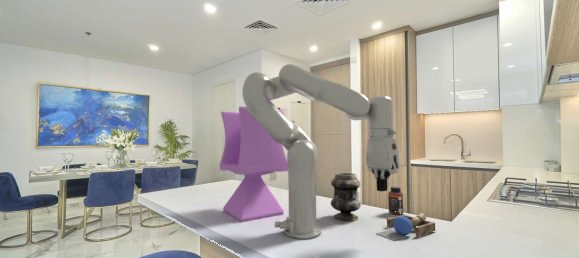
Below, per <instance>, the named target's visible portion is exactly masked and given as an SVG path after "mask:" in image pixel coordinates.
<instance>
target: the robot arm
mask: <svg viewBox="0 0 579 258" xmlns="http://www.w3.org/2000/svg"><path fill="white" fill-rule="evenodd" d="M294 94H299V95H300V96H302V97H304V98H307V99H308V100H310V101H312V102H314V103H318V104H325V105H328V106H331V107H332V108H335V109H337V110H339V111H340V112H341V111H342V112H343V113H345V116H346V117H348V119H349V120H352V121H362V120H368V139H367V142H366V148H365V149H366V151H365V164H366V167H367V171H368V172H371V173H372V174H373V176H374V179H376V191H378V192H387V191H388V179H390V176H391V175H394V174H395V175H396V174H398V169H399V168H400V154H399V148H398V147H399V145H398V143H397V139H396V138H394V135H396V134H397V131H396V130H394V118H393V117H394V116H393V115H394V114H393V113H394V112H393V109H394V108H393V99H392V98H391V97H389V96H385V95H384V96H374V97H372V98H371V97H370V99H368V97H366V96H365V95H364V94H363V93H360V92H358V91H356V90H355V89H352V88H350V87H348V86H345V85H343V84H340V83H337V82H334V81H332V80H328V79H327V78H324V77H321V76H320V75H317V74H315V73H312V72H310V71H309V70H306V69H304V68H302V67H300V66H298V65H295V64H293V63H287V64H285V65H282V67H281V68H280V70H279V72H278V76H275V77H272V78H270V77H269V76H267V75H266V74H264V73H262V72H258V71H256V72H251V73H250V74H249V75H248V76H246V78H245V79H244V82H243V85H242V99H243V102H244V104H245V107H247V108H248V110H249V111H250V113H251V114H252V115H253V116H254V118H255V119H256V120H257V121H258V122H259V124H260V125H261V126H262V127H263V128H264V130H265V131H266V132H267V133H268V134H269V136H270V137H271V138H272V139H273V140H274V141H275V142H276V143H278V144H282V145H283V148H285V150H287V153H286V160H287V163H288V171H287V173H288V175H287V176H288V217H286V218H285V219H286V220H285V219H284V220H283V221H275V222H274V228H279V230H283V233H284V234H285V236H287V237H289V238H294V239H301V240H302V239H303V240H304V239H313V238H317V237H319V236H320V235H321V234H322V229H321V228H320V227H319V226H318V225H317V173H316V172H317V171H316V160H317V158H318V156H319V155H318V154H319V152H318V148H317V146H316V144H315V143H314V142H313V141H312V140H311V139H310V137H309V136H308V135H306V133H305V132H304V131H303V130H302V129H301V127H299V125H297V123H295V122H294V120H291V119H289V118H288V117H286V116H285V115H283V114H282V113H281V112H280V111H279V110H280V109H279V108H278V107H277V106H276V105H275V104H274V103H273V102H272V101H273V100H277V99H280V98H283V97H287V96H290V95H294Z"/></svg>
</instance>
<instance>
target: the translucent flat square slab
mask: <svg viewBox="0 0 579 258" xmlns="http://www.w3.org/2000/svg"><path fill="white" fill-rule="evenodd" d="M375 234H376V235H377V236H380V237H383V238H385V239H388V238H389V239H388V240H392V241H398V240H401V239H404V238H406V237H405V236H406V235H401V234H399V233H397V232H396V231H395V229H392V228H389V229H387V230H384V231H380V232H376V233H375ZM403 237H404V238H403Z"/></svg>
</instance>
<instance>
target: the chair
mask: <svg viewBox="0 0 579 258" xmlns="http://www.w3.org/2000/svg"><path fill="white" fill-rule="evenodd" d="M278 110H279V111H280V112H281V113H282V114H283V115H284V114H285V111H284V109H278ZM220 114H221V118H222V119H221V120H222V124H223V127H224V136H225V137H224V147H223V152H222V156H221V159H220V162H219V170H220V171H223V172H224V171H228V172H232V173H234V174H236V175H239V176H244V178H243V179H242V181H241V182H240V183H239V185H238V187H237V188H236V189H235V191H234V192H233V194H232V195H231V196H230V198H229V199H228V200H227V202H226V203H225V204H224V206H223V210H222V211H223V213H225V214H227V215H228V216H230V217H232V218H233V219H235V220H237V221H238V222H240V223H246V222H250V221H251V222H252V221H254V220H255V221H256V220H261V219H266V218H271V217H277V216H282V215H284V214H285V213H284V209H283V207H282V206H281V205H280V203H279V202H278V200H277V199H276V198H275V196H274V194H273V193H272V191H271V190H270V188H269V187H268V186H267V184H266V182H265V181H264V180H263V179H262V176H265V175H268V174H273V173H275V172H276V173H281V172H288V163H287V156H286V154H285V150H284V146H283V145H282V144H278V143H276V142H275V141H274V140H273V139H272V138H271V137H270V136H269V134H268V133H267V132H266V131H265V130H264V128H263V127H262V126H261V125H260V124H259V122H258V121H257V120H256V119H255V118H254V116H253V115H252V114H251V113H250V111H249V110H248V108H247V107H246V106H239V107H238V112H237V111H236V112H235V111H221V113H220ZM284 116H285V115H284Z"/></svg>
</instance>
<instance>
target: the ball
mask: <svg viewBox="0 0 579 258" xmlns="http://www.w3.org/2000/svg"><path fill="white" fill-rule="evenodd" d="M397 216H398V217H396V216H395V217H396V218H395V219H394V221H393V227H392V228H393V230H395V231H396V232H397V233H399V234H401V235H410V234H411V232H412V231H413V229H414V228H413V226H412V222H411V221H410V220H409V219H408V218H407V217H404V216H400V215H397Z"/></svg>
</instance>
